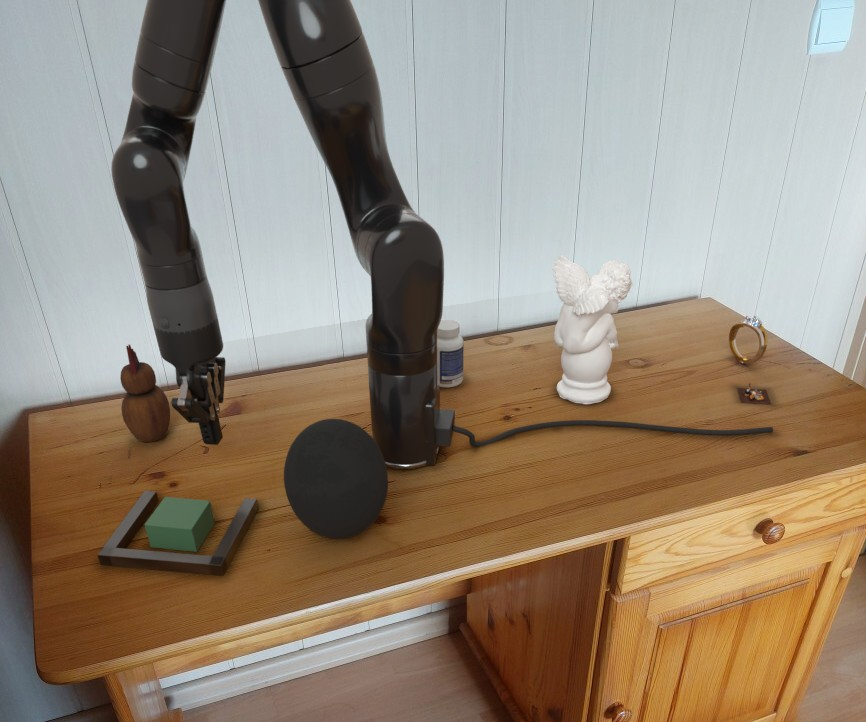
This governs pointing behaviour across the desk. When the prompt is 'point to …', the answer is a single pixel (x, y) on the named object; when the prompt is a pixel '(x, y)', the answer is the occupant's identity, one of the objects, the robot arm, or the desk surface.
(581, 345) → the cherub figurine
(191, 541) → the green block
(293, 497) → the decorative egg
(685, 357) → the desk surface
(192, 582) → the desk surface
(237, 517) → the frame
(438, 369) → the pill bottle
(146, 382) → the wooden figurine
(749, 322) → the ring
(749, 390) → the diorama
